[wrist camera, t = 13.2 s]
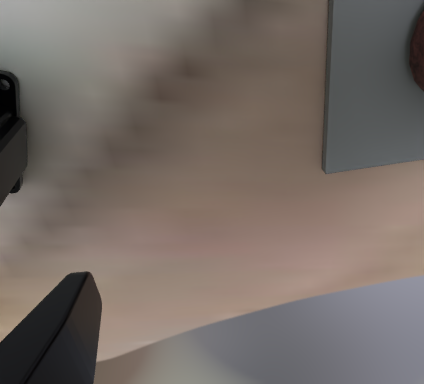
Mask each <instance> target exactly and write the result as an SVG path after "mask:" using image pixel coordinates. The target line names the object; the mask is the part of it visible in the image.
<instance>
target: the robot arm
mask: <svg viewBox="0 0 424 384" xmlns="http://www.w3.org/2000/svg"><path fill="white" fill-rule="evenodd" d="M1 79H4V80H6V81H7V82H8V83H9V85H10V87H9V88H7V87H5V86H3V85H2V83H1ZM26 167H27V136H26V122H25V121H24V120H23V118H22V117H20V110H19V87H18V81H17V79H16V77H15V76H14V75H12V74H11V73H9V72H6V71H1V70H0V206H1V205H2V203H3V202H4V200H5V198H6V197H7V195H8V194H9V193H16V192H18V191H19V190H20V188H21V187H22V184H23V180H22V173H23V171H24V170H25V168H26ZM14 185H15V186H14ZM101 312H102V301H101V297H100V294H99V292H98V289H97V286H96V283H95V281H94V278H93V276H92V274H91V273H90V272H76V273H70V274H68V275H67V276H66V277H65V278H64V279H63V280H62V281H61V282H60V283H59V284H58V285H57V286H56V287H55V288H54V289H53V290H52V291H51V292H50V293H49V294H48V295H47V296H46V297H45V298H44V299H43V300H42V301H41V302H40V303H39V304H38V305H37V306H36V307H35V308H34V309H33V310H32V311H31V312H30V313H29V314H28V315H27V316H26V317H25V318H24V319H23V320H22V321H21V322H20V323H19V324H18V325H17V326H16V327H15V328H14V329H13V330H12V331H11V332H10V333H9V334H8V335H7V336H6V337H5V338H4V339H3V340H2V341H1V342H0V384H93V382H94V375H95V366H96V358H97V349H98V340H99V331H100V321H101Z"/></svg>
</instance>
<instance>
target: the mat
mask: <svg viewBox="0 0 424 384" xmlns="http://www.w3.org/2000/svg"><path fill="white" fill-rule="evenodd" d="M423 10H424V0H329V15H328V39H327V63H326V87H325V111H324V135H323V159H322V169H323V171H324V172H325V174H329V173H336V172H342V171H349V170H356V169H362V168H369V167H376V166H383V165H389V164H396V163H403V162H409V161H416V160H423V159H424V92H423V90H422V89H421V88H420V87H419V86H418V85H417V84H416V82H415V81H414V78H413V75H412V72H411V69H410V65H409V55H410V41H411V38H412V35H413V32H414V29H415V26H416V23H417V20H418V18H419V17H420V15H421V14H422V12H423Z"/></svg>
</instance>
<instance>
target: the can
mask: <svg viewBox="0 0 424 384" xmlns="http://www.w3.org/2000/svg"><path fill="white" fill-rule="evenodd" d="M409 65H410V69H411V72H412V75H413V78H414V81H415V82H416V84H417V85H418V86H419V87H420V88H421V89H422V90H423V92H424V10H423V12H422V14H421V15H420V17H419V18H418V20H417V23H416V26H415V29H414V32H413V35H412V38H411V41H410V55H409Z"/></svg>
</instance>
